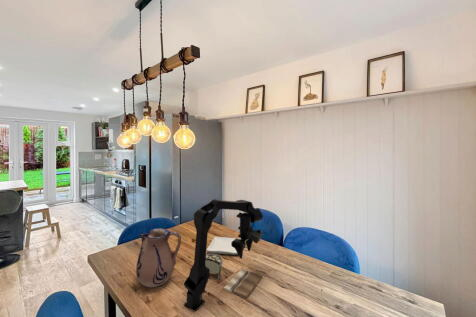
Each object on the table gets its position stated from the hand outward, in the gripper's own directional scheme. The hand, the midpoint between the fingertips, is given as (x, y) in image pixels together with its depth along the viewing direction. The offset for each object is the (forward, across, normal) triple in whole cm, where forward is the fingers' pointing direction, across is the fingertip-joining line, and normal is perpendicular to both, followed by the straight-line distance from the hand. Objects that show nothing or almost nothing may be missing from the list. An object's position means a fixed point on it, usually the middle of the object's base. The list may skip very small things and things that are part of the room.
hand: (245, 254), depth 112 cm
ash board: (+12, -5, +2) cm, 13 cm away
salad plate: (+13, +23, +26) cm, 37 cm away
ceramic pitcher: (+12, -24, +36) cm, 45 cm away
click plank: (+12, -5, -5) cm, 14 cm away
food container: (+12, -6, +15) cm, 20 cm away
